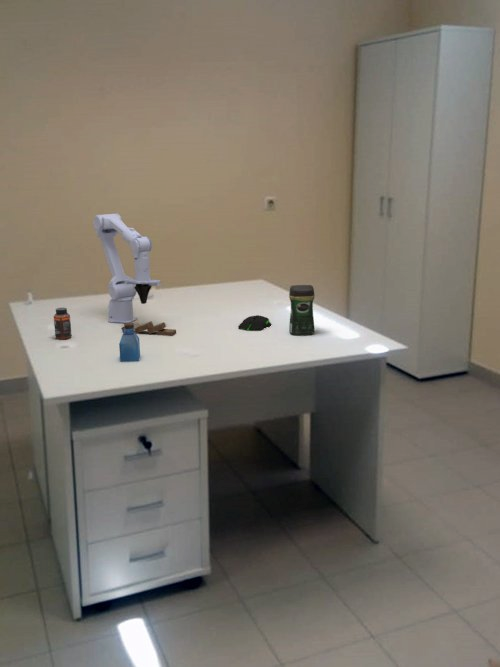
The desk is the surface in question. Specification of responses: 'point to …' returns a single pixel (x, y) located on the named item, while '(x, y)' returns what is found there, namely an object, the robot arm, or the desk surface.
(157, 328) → the domino
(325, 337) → the desk surface
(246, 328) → the computer mouse
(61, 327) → the supplement bottle
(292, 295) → the coffee jar
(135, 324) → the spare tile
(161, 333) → the domino
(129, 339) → the perfume bottle
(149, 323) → the domino
